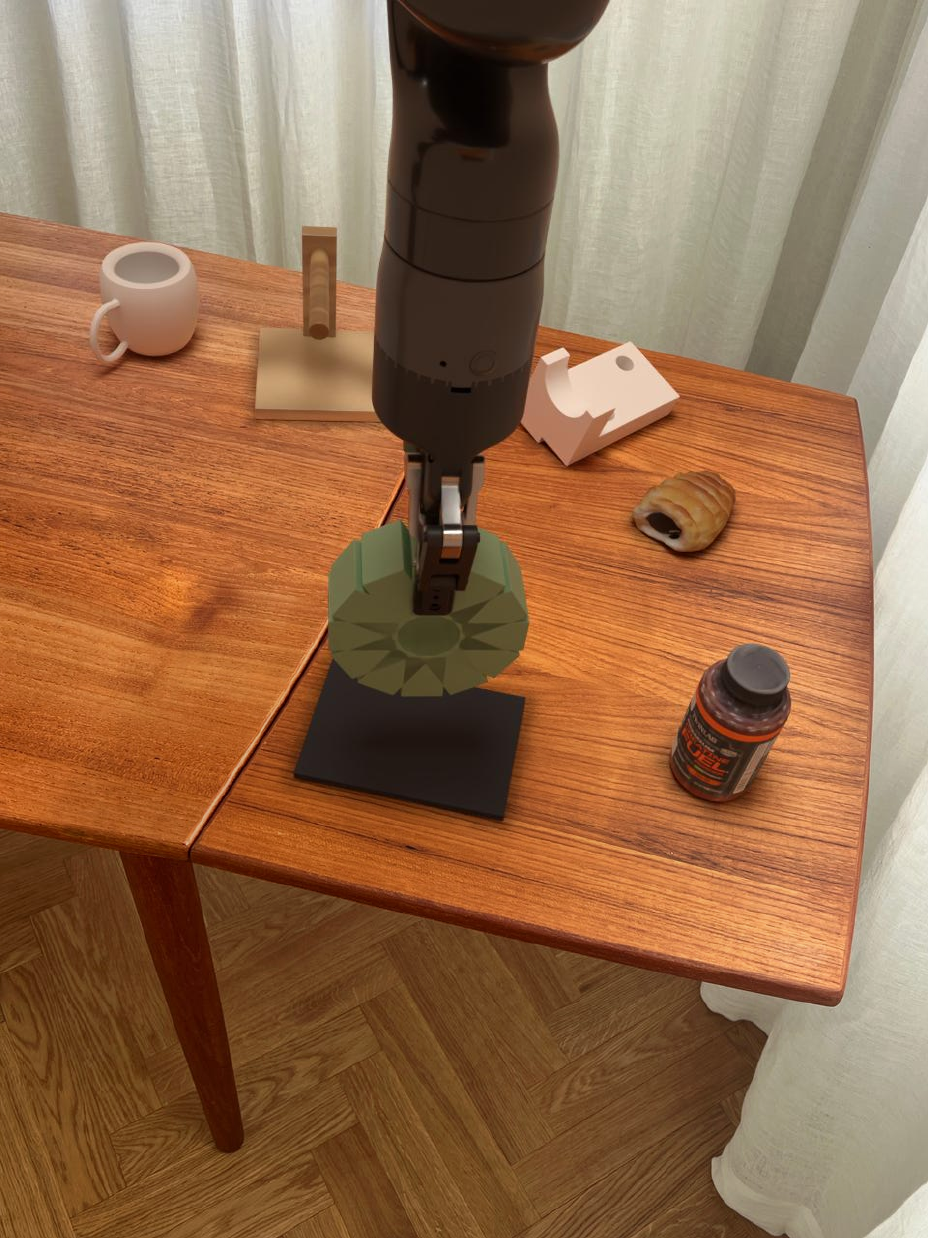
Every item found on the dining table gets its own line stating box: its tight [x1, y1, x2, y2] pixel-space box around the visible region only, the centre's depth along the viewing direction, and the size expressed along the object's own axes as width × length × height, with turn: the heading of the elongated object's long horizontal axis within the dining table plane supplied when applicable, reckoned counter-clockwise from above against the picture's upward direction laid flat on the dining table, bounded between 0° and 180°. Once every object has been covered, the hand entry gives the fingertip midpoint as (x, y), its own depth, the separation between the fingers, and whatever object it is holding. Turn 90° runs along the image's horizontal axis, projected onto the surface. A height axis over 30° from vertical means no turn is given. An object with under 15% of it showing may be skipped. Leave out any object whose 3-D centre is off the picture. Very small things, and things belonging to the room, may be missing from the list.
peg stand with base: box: [254, 225, 382, 423], centre depth 97 cm, size 13×11×12 cm
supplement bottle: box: [669, 643, 792, 803], centre depth 72 cm, size 6×6×11 cm
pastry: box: [632, 470, 737, 553], centre depth 92 cm, size 9×7×4 cm
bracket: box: [520, 340, 681, 467], centre depth 98 cm, size 13×7×8 cm, turn 130°
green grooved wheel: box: [327, 518, 531, 697], centre depth 66 cm, size 4×12×12 cm, turn 95°
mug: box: [88, 241, 200, 365], centre depth 99 cm, size 12×8×8 cm
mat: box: [293, 658, 526, 822], centre depth 76 cm, size 14×10×1 cm
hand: (429, 579), depth 64 cm, fingers closed on green grooved wheel, 4 cm apart
